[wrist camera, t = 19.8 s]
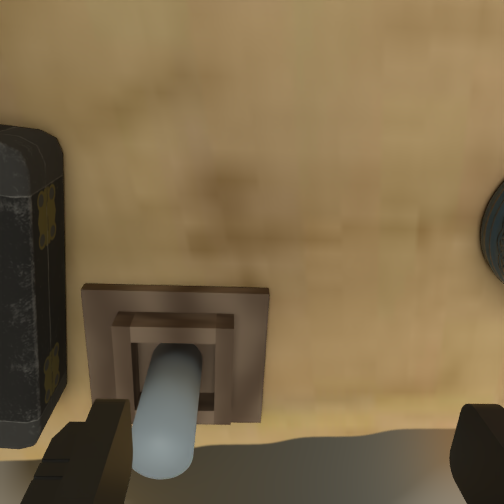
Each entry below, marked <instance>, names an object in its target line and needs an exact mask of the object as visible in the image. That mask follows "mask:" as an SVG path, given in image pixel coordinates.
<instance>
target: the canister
mask: <svg viewBox="0 0 504 504" xmlns="http://www.w3.org/2000/svg"><path fill="white" fill-rule="evenodd" d="M481 246H482V251H483V254H484V257H485V259H486V261H487V263H488V264H489V266H490V267H491V269H492V271H493V272H494V274H495V275H496V276H497V278H498V279H499V280H500V281H501V282H502V283H503V284H504V182H503V183H502V184H501V185H500V187H499V188H498V189H497V191H496V192H495V193H494V195H493V197H492V198H491V200H490V202H489V204H488V206H487V208H486V211H485V214H484V217H483V221H482V226H481Z"/></svg>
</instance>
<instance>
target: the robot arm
mask: <svg viewBox="0 0 504 504" xmlns="http://www.w3.org/2000/svg"><path fill="white" fill-rule="evenodd" d="M132 462H133V441H132V425H131V409H130V401H129V399H96V400H95V401H94V403H93V405H92V407H91V410H90V412H89V414H88V417H87V419H86V422H69V423H68V424H67V425H66V426H65V427H64V428H63V429H62V430H61V431H60V432H58V433H57V434H56V435H55V436H54V437H53V438H52V440H51V442H50V444H49V446H48V448H47V450H46V452H45V454H44V456H43V458H42V463H40V465H39V466H38V469H37V471H36V473H35V475H34V479H33V480H32V481H31V483H30V485H29V487H28V489H27V491H26V493H25V495H24V497H23V499H22V502H21V504H124V501H125V497H126V492H127V489H128V484H129V481H130V476H131V470H132ZM450 467H451V472H452V475H453V478H454V480H455V482H456V484H457V486H458V488H459V490H460V491H461V493H462V495H463V497H464V499H465V501H466V503H467V504H504V408H503V407H502V406H500V405H498V404H465V405H464V406H463V407H462V409H461V412H460V416H459V420H458V424H457V427H456V431H455V435H454V439H453V442H452V446H451V450H450Z"/></svg>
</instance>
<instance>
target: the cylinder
mask: <svg viewBox="0 0 504 504" xmlns="http://www.w3.org/2000/svg"><path fill="white" fill-rule="evenodd" d="M202 361H203V360H202V355H201V352H200V351H199V349H198V348H197V347H196V346H195V345H194V344H184V343H160V344H159V345H158V346H157V347H156V348H155V350H154V351H153V354H152V357H151V361H150V365H149V368H148V372H147V375H146V379H145V383H144V386H143V390H142V393H141V397H140V401H139V404H138V408H137V411H136V415H135V419H134V422H133V426H132V441H133V462H132V468H133V469H134V470H135V471H136V472H138V473H139V474H141V475H143V476H146V477H149V478H153V479H168V478H173V477H175V476H178V475H180V474H181V473H183V472H184V471H185V470H186V469H187V468H188V467H189V466H190V464H191V462H192V459H193V452H194V442H195V432H196V422H197V412H198V402H199V392H200V382H201V372H202Z"/></svg>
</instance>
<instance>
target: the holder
mask: <svg viewBox="0 0 504 504" xmlns="http://www.w3.org/2000/svg"><path fill="white" fill-rule="evenodd" d="M81 297H82V307H83V317H84V327H85V337H86V347H87V357H88V367H89V377H90V387H91V397H92V405H93V403H94V401H95V400H96V399H129V401H130V409H131V424H133V422H134V419H135V415H136V411H137V408H138V404H139V401H140V397H141V393H142V390H143V386H144V383H145V379H146V375H147V372H148V368H149V365H150V361H151V357H152V354H153V351H154V350H155V348H156V347H157V346H158V345H159V344H160V343H184V344H194V345H195V346H196V347H197V348H198V349H199V351H200V352H201V355H202V360H203V361H202V372H201V382H200V392H199V402H198V412H197V422H196V424H217V425H230V424H231V422H237V423H261V411H262V397H263V382H264V367H265V353H266V338H267V323H268V308H269V288H243V287H203V286H163V285H122V284H84V286H83V287H82V289H81Z"/></svg>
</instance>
